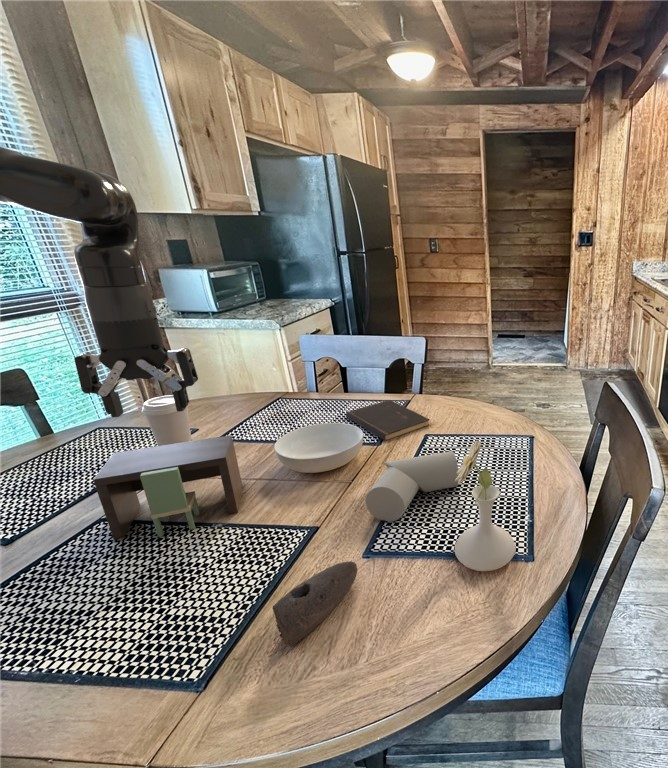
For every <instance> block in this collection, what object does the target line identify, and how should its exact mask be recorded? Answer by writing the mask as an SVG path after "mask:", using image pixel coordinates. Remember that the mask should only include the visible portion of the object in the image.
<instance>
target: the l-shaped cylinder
mask: <svg viewBox="0 0 668 768" xmlns="http://www.w3.org/2000/svg"><path fill="white" fill-rule="evenodd" d="M382 463H383V465H384V466H385V467H386V470H385V471H384V472H383V474H382V475H381V477H379V479H378V480H377V481H376V483H375V484H374V485H373V486H372V487H371V488H370V490H368V493H367V494H366V496H365V506H366V509H367V510H368V512H369V513H370V515H372V517H374V518H375V519H377V520H379V521H386V522H396V521H398V520H399V519H401V518H402V517H403V515H404V514H405V512H406V511H407V509H408V507H409V505H410V504H411V502H412V501H413V499H414V498H415V496H416V495H417V493H418V491H421V492H423V493H429V492H436V491H441V490H445V489H450V488H457V487H458V486H459V484H458V480H457V481H455V480H456V478H457V477H458V475H459V474H460V473H459V474H457V471H458V469H459V466H458V460H457V457H456V454H455V452H454V451H452V450H451V451H444V452H438V453H433V454H425V455H420V456H419V455H418V456H413V457H408V458H400V459H394V460H389V461H383V462H382Z"/></svg>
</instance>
